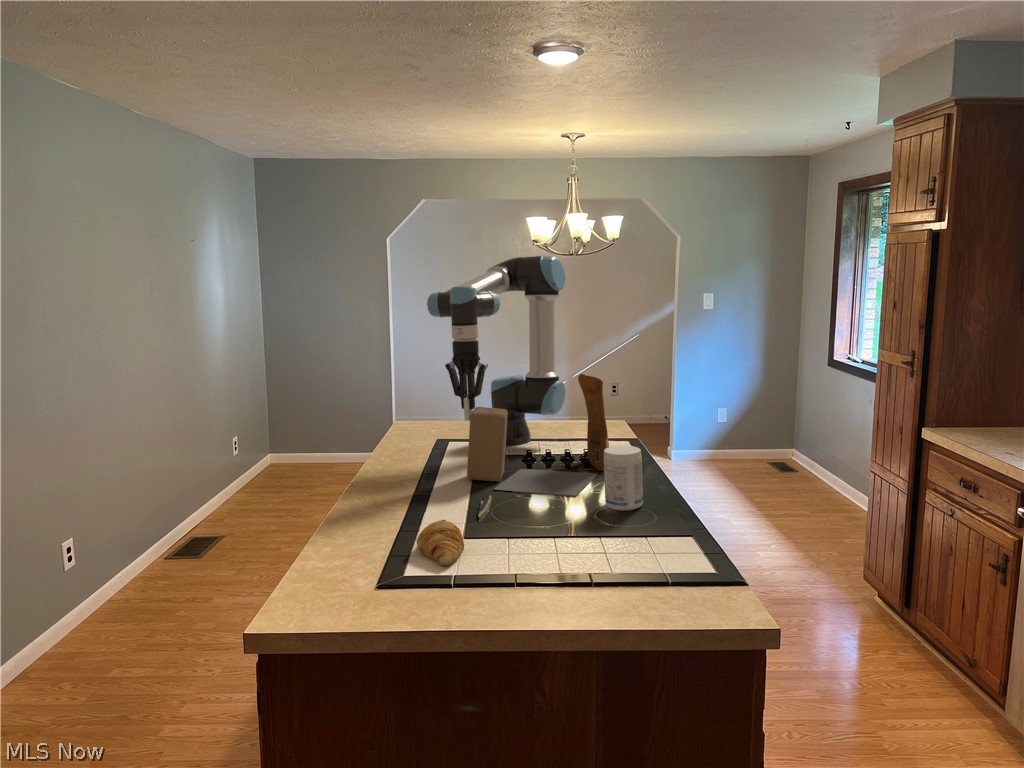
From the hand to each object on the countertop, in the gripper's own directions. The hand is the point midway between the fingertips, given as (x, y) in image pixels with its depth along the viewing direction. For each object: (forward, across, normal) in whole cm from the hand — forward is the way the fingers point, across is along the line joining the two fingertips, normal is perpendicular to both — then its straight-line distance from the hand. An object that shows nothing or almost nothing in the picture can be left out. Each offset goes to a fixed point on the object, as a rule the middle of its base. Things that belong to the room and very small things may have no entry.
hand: (468, 419), depth 221 cm
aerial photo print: (+18, +23, -25) cm, 38 cm away
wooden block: (+17, +4, 0) cm, 18 cm away
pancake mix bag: (+18, +32, +22) cm, 43 cm away
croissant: (+18, +18, -56) cm, 61 cm away
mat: (+17, +24, 0) cm, 29 cm away
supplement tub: (+18, +50, -14) cm, 55 cm away
